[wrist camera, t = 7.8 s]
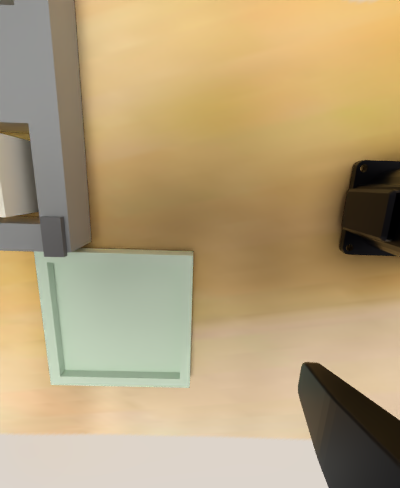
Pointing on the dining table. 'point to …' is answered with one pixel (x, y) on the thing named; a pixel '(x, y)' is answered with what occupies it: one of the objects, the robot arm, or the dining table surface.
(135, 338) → the parts tray
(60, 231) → the grey socket board
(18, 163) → the plug
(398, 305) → the dining table surface
